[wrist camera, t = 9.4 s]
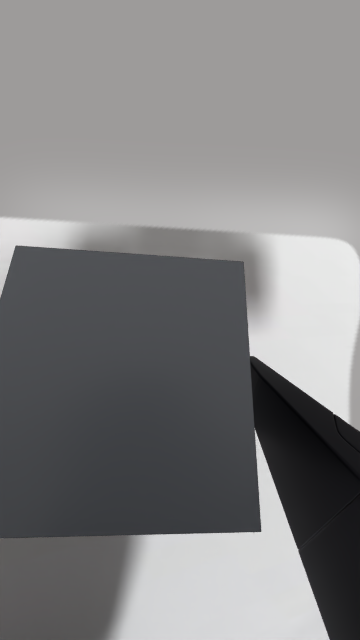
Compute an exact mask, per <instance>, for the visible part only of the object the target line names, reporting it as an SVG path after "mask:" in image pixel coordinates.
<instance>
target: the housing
mask: <svg viewBox="0 0 360 640" xmlns="http://www.w3.org/2000/svg"><path fill="white" fill-rule="evenodd" d="M234 532H261V520H260V505H259V490H258V475H257V459H256V444H255V429H254V414H253V398H252V383H251V368H250V352H249V337H248V322H247V307H246V291H245V276H244V262H241V261H227V260H213V259H198V258H184V257H170V256H156V255H142V254H128V253H114V252H100V251H86V250H71V249H57V248H43V247H29V246H16V247H15V250H14V253H13V257H12V260H11V264H10V267H9V271H8V274H7V277H6V281H5V284H4V288H3V291H2V295H1V298H0V538H30V537H70V536H111V535H152V534H193V533H234Z"/></svg>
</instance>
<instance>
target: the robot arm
mask: <svg viewBox="0 0 360 640" xmlns="http://www.w3.org/2000/svg"><path fill="white" fill-rule="evenodd" d="M250 368H251V383H252V398H253V414H254V427H255V430H256V433H257V436H258V439H259V441H260V444H261V447H262V450H263V453H264V455H265V458H266V461H267V464H268V467H269V469H270V472H271V475H272V478H273V481H274V484H275V486H276V489H277V492H278V495H279V498H280V500H281V503H282V506H283V509H284V512H285V514H286V517H287V520H288V523H289V526H290V529H291V531H292V534H293V537H294V540H295V543H296V545H297V548H298V549H299V554H300V557H301V560H302V563H303V566H304V568H305V571H306V574H307V577H308V580H309V582H310V585H311V588H312V591H313V594H314V597H315V599H316V602H317V605H318V608H319V611H320V613H321V616H322V619H323V622H324V625H325V627H326V630H327V633H328V636H329V639H330V640H360V431H358V430H356V429H355V428H354V427H352V426H351V425H349V424H348V423H347V422H345V421H344V420H342V419H341V418H340V417H338V416H337V415H335V414H334V415H333V413H332V412H331V411H330V410H328V409H327V408H326V407H324V406H323V405H321V404H320V403H319V402H317V401H316V400H314V399H313V398H312V397H310V396H309V395H307V394H306V393H305V392H303V391H302V390H300V389H299V388H298V387H296V386H295V385H293V384H292V383H291V382H289V381H288V380H286V379H285V378H284V377H282V376H281V375H280V374H278V373H277V372H275V371H274V370H273V369H271V368H270V367H268V366H267V365H266V364H264V363H263V362H261V361H260V360H259V359H257V358H256V357H254V356H250Z"/></svg>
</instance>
